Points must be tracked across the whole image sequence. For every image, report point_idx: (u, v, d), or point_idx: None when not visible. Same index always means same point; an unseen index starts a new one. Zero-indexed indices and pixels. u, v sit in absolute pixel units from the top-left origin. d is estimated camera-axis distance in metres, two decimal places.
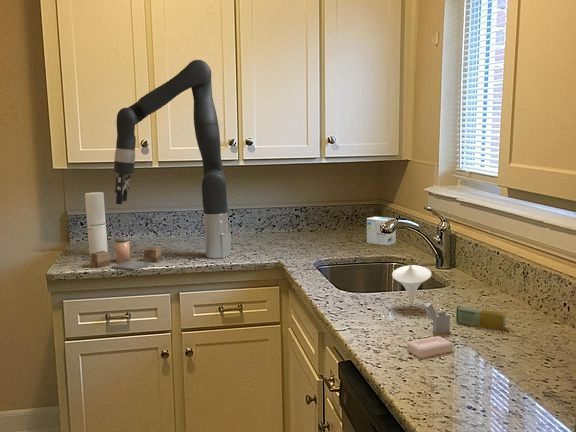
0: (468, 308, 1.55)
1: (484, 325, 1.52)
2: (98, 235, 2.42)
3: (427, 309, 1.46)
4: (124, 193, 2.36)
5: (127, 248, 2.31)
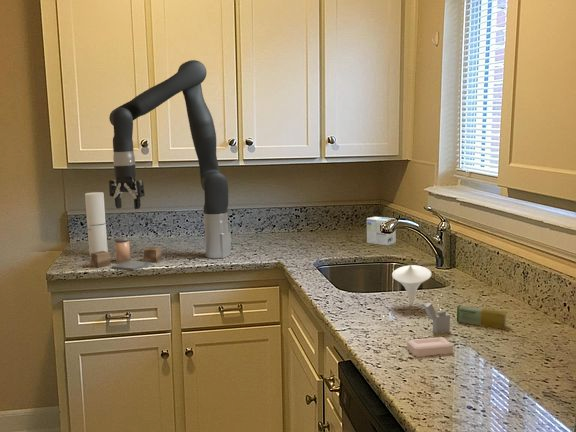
0: (469, 307, 1.55)
1: (485, 324, 1.53)
2: (98, 235, 2.42)
3: (427, 309, 1.46)
4: (119, 199, 2.22)
5: (127, 248, 2.31)
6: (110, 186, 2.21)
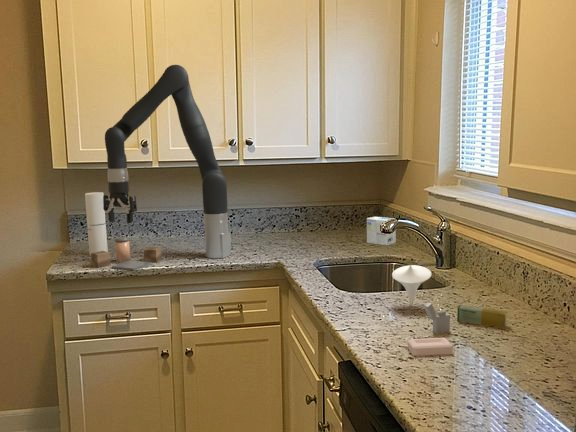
0: (469, 307, 1.56)
1: (485, 324, 1.53)
2: (98, 235, 2.42)
3: (427, 309, 1.46)
4: (112, 214, 2.32)
5: (127, 248, 2.31)
6: (104, 201, 2.31)
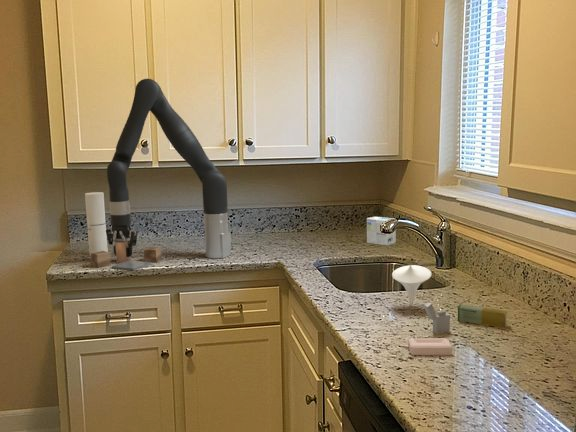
0: (469, 307, 1.56)
1: (486, 323, 1.53)
2: (98, 235, 2.42)
3: (427, 309, 1.46)
4: None
5: None
6: (107, 235, 2.33)
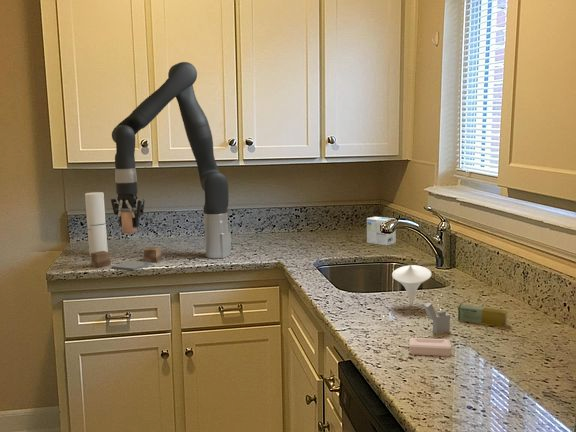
0: (470, 306, 1.56)
1: (486, 323, 1.54)
2: (98, 235, 2.42)
3: (427, 309, 1.46)
4: None
5: None
6: (113, 205, 2.22)
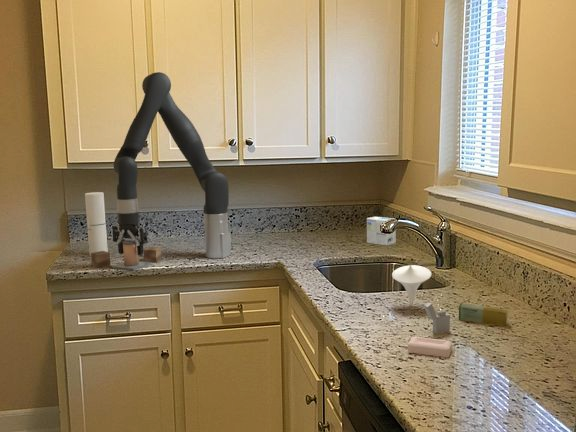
0: (470, 306, 1.57)
1: (487, 322, 1.54)
2: (98, 235, 2.42)
3: (427, 309, 1.46)
4: (122, 245, 2.25)
5: (135, 251, 2.22)
6: (113, 232, 2.24)
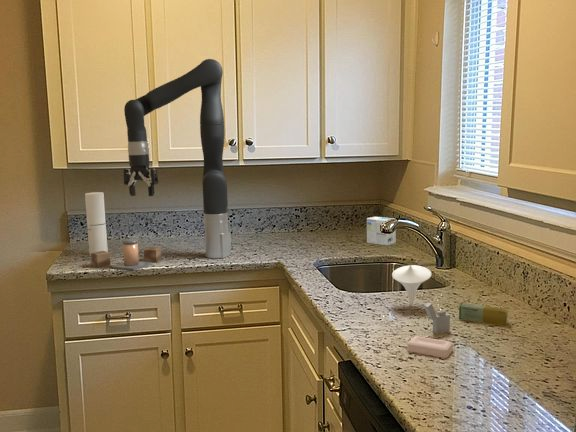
0: (471, 305, 1.57)
1: (487, 321, 1.55)
2: (98, 235, 2.42)
3: (427, 309, 1.46)
4: (133, 187, 2.32)
5: (136, 251, 2.22)
6: (124, 175, 2.31)
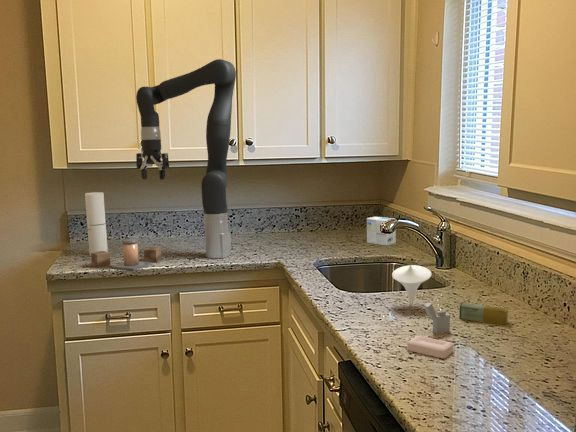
0: (471, 305, 1.58)
1: (487, 321, 1.55)
2: (98, 235, 2.42)
3: (427, 309, 1.46)
4: (145, 171, 2.42)
5: (136, 251, 2.22)
6: (137, 159, 2.41)
